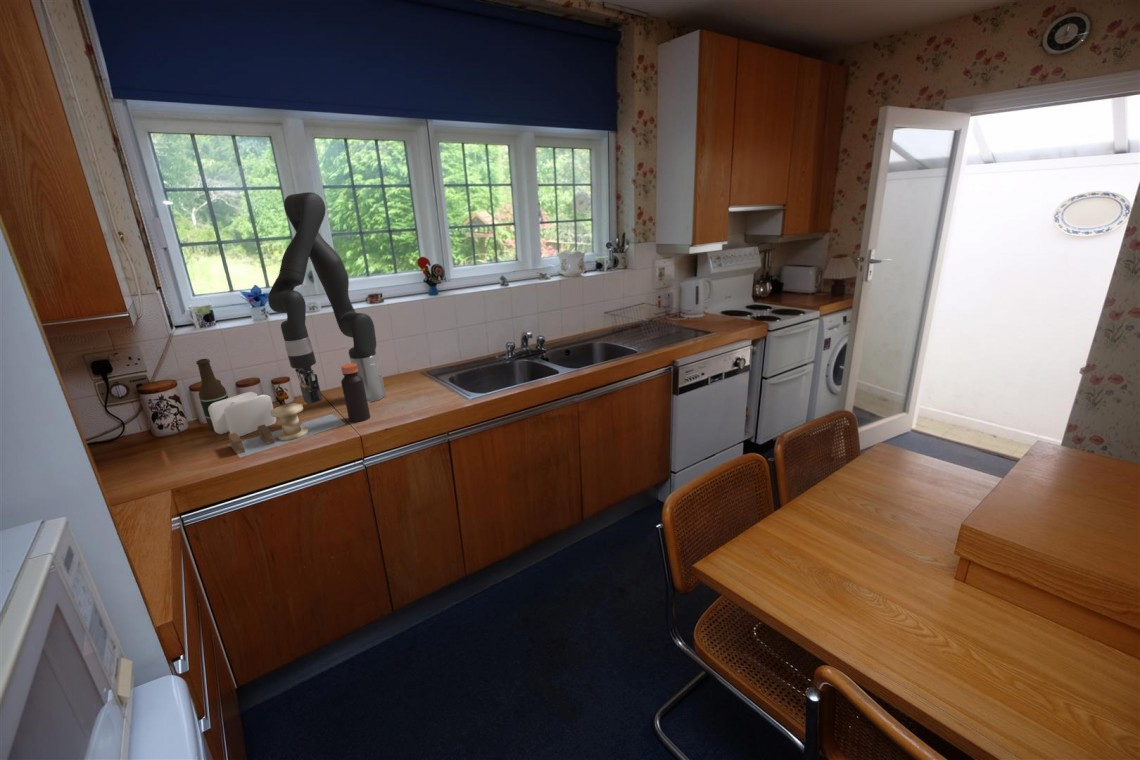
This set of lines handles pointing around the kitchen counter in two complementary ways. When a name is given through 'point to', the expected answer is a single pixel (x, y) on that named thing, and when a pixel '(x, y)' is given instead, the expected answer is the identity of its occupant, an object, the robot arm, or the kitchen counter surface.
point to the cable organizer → (241, 413)
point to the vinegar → (354, 394)
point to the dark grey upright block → (308, 393)
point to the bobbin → (289, 422)
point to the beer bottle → (209, 389)
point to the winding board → (313, 427)
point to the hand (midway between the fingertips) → (313, 399)
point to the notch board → (238, 445)
